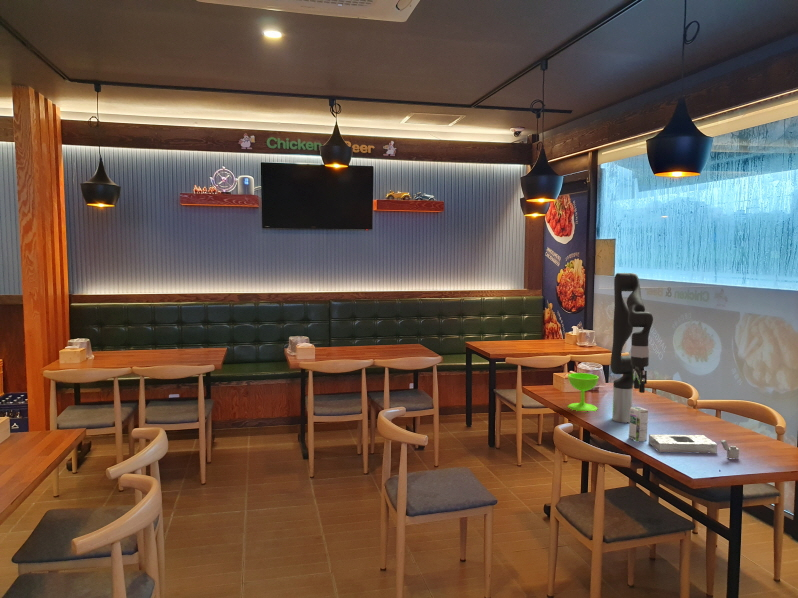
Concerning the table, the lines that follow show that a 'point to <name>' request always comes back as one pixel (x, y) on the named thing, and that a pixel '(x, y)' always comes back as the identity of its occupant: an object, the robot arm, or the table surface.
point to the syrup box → (638, 424)
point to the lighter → (730, 450)
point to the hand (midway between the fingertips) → (639, 390)
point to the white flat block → (682, 443)
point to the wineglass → (582, 389)
